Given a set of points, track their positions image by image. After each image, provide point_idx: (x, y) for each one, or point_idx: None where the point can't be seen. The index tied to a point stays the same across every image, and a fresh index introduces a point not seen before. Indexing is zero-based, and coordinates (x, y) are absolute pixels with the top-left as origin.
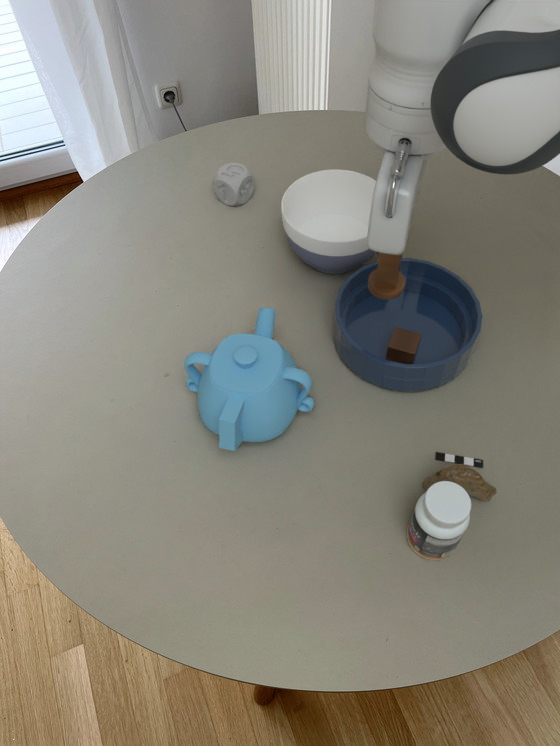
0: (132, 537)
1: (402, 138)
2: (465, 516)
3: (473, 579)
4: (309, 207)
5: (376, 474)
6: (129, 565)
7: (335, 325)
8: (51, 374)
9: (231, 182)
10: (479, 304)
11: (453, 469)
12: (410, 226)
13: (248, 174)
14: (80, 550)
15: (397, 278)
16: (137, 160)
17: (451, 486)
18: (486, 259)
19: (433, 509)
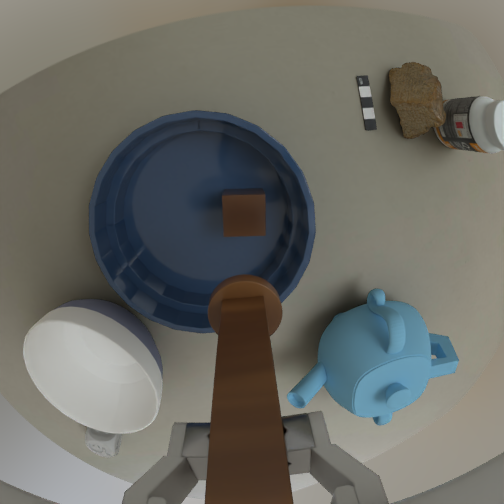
0: (470, 348)
1: None
2: None
3: (466, 85)
4: (86, 385)
5: (408, 190)
6: (484, 339)
7: None
8: (354, 452)
9: (111, 448)
10: (140, 128)
11: (439, 113)
12: (491, 490)
13: (91, 438)
14: (474, 367)
15: (241, 302)
16: (125, 479)
17: (497, 122)
18: (36, 156)
19: None
